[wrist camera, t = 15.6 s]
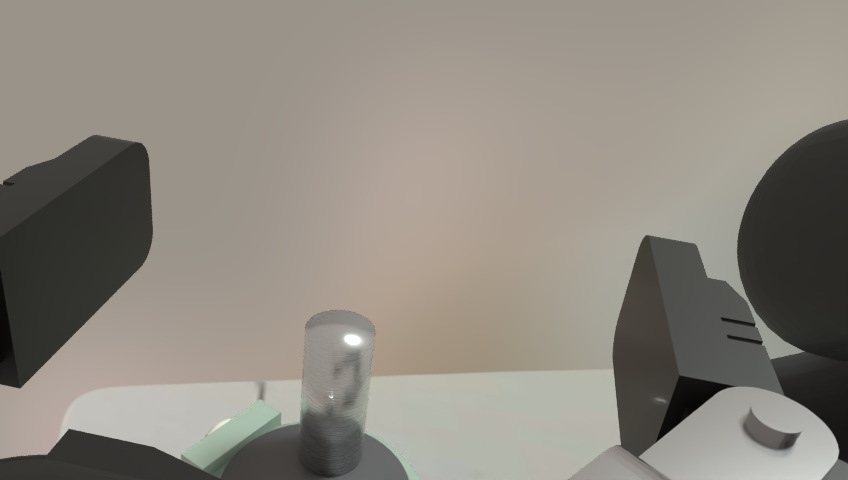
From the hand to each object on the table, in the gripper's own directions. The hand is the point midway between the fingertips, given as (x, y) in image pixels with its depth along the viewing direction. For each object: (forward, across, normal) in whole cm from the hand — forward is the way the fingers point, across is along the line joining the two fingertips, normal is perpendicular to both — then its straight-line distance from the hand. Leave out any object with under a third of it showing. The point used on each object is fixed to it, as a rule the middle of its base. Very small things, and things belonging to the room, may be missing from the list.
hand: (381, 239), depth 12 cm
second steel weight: (+26, +6, +31) cm, 41 cm away
